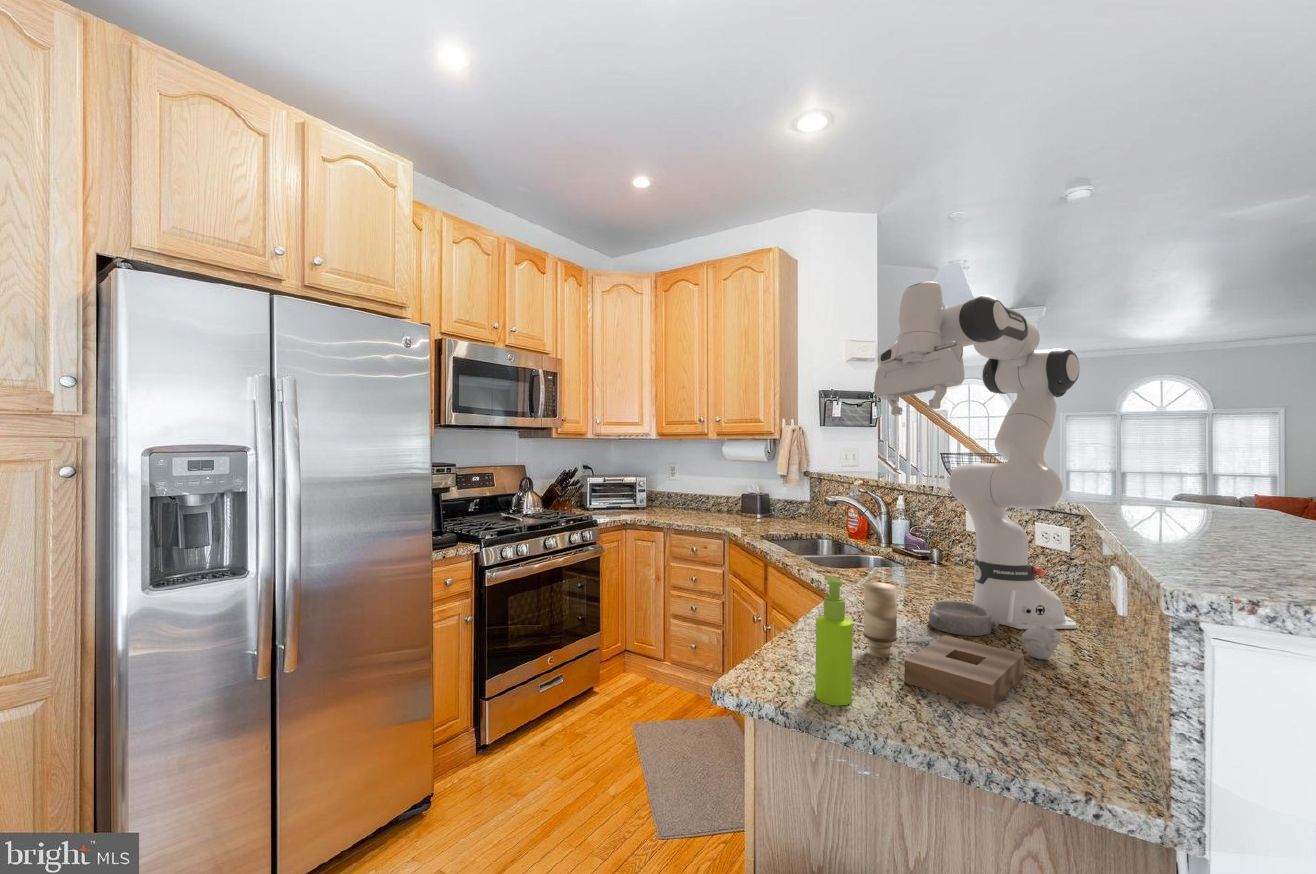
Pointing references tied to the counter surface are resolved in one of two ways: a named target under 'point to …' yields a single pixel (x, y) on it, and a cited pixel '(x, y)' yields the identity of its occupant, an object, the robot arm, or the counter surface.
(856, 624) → the fork
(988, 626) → the dish
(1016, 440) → the robot arm
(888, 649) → the maple leg
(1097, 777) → the counter surface
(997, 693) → the walnut board
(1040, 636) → the frog figurine
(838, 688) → the soap dispenser
